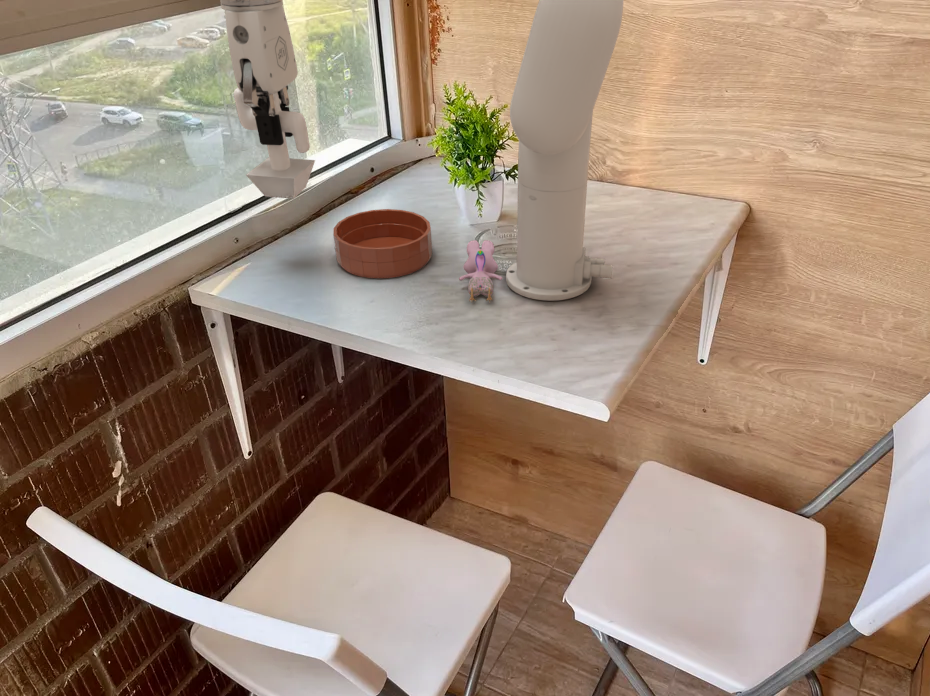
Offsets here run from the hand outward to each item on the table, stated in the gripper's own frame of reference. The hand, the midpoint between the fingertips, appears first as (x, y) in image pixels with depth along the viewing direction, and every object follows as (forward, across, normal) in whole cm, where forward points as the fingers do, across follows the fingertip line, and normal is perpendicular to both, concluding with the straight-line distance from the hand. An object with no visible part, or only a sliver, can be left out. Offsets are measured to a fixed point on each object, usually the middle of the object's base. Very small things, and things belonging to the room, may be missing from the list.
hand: (277, 138), depth 107 cm
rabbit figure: (+20, -1, -28) cm, 35 cm away
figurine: (+8, 0, 0) cm, 8 cm away
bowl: (+19, +4, -12) cm, 23 cm away
